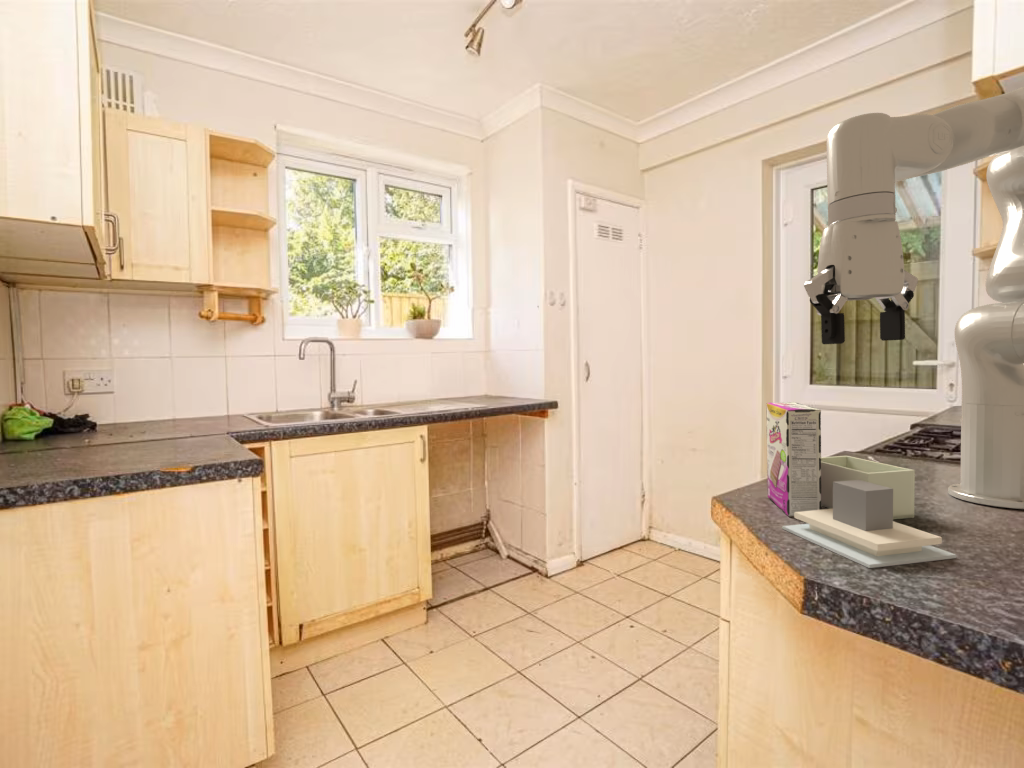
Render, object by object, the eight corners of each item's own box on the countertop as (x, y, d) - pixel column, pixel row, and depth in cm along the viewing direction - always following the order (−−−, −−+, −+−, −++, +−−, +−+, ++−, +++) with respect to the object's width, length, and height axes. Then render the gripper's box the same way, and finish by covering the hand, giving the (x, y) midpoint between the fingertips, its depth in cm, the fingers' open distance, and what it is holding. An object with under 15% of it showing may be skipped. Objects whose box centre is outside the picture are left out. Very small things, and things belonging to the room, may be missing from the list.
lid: (849, 520, 73) (849, 472, 73) (941, 553, 61) (942, 495, 60) (794, 526, 72) (794, 476, 71) (877, 561, 59) (877, 501, 59)
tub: (846, 496, 87) (846, 455, 87) (914, 517, 75) (914, 470, 75) (805, 500, 86) (805, 458, 85) (867, 521, 74) (868, 473, 73)
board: (855, 521, 74) (855, 519, 74) (956, 557, 60) (956, 554, 60) (782, 528, 72) (782, 526, 72) (869, 568, 58) (869, 564, 58)
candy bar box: (765, 497, 88) (764, 402, 87) (797, 498, 87) (797, 401, 86) (786, 517, 77) (786, 408, 76) (823, 518, 76) (823, 408, 75)
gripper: (888, 222, 75) (889, 339, 76) (784, 222, 71) (788, 346, 72) (940, 206, 67) (942, 337, 68) (828, 206, 64) (831, 344, 65)
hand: (863, 341), depth 70 cm, fingers open, 9 cm apart
